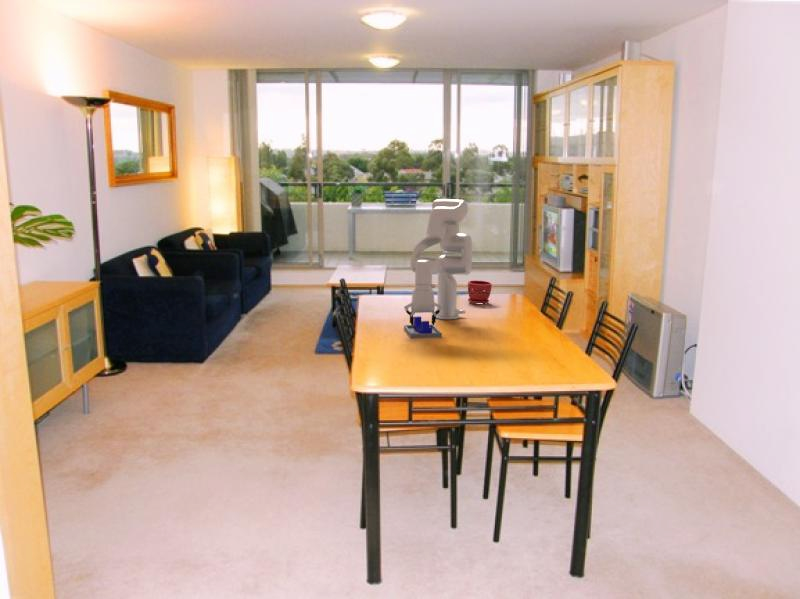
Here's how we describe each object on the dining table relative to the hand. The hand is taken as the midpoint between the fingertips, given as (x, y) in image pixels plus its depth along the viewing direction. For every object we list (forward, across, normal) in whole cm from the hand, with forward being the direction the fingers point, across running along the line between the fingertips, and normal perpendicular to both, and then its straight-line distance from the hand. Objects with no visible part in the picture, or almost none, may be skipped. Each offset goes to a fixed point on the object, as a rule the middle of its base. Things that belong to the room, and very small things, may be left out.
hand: (422, 324), depth 327 cm
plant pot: (+5, -46, -70) cm, 84 cm away
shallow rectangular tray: (+4, 0, 0) cm, 4 cm away
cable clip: (+4, 0, 0) cm, 4 cm away
